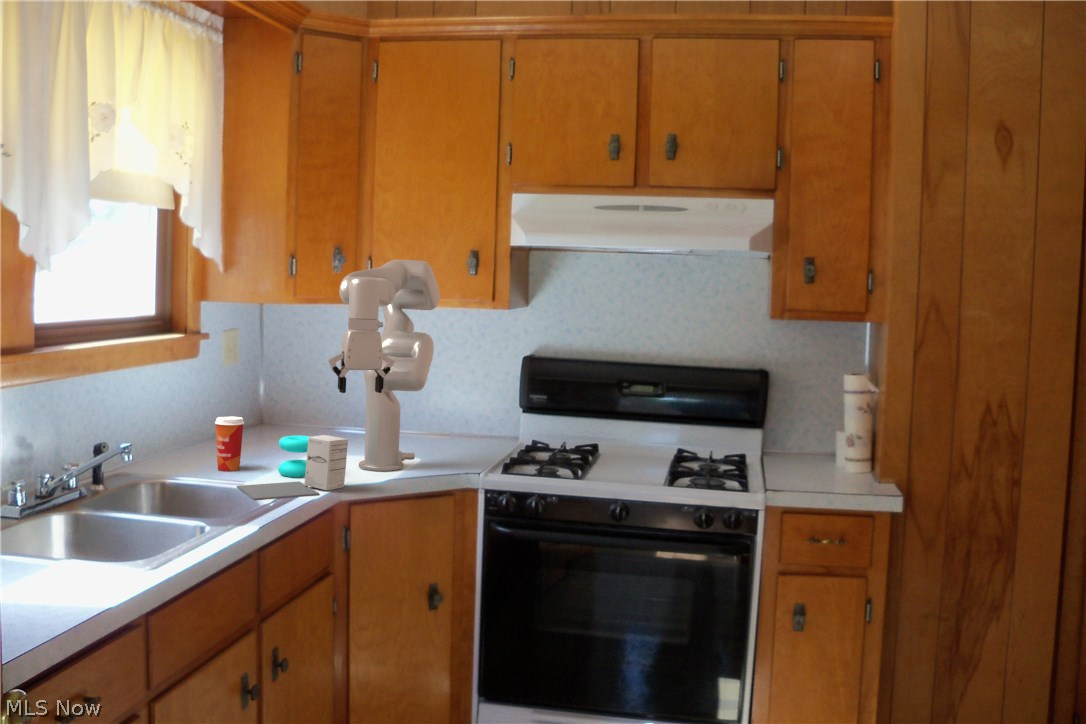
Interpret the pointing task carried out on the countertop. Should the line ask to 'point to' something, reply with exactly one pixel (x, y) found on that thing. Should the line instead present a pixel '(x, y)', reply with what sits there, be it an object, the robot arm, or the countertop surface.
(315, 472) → the supplement box
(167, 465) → the countertop surface
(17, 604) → the countertop surface
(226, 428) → the paper cup
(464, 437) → the countertop surface
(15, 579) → the countertop surface
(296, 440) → the donuts
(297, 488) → the mat
